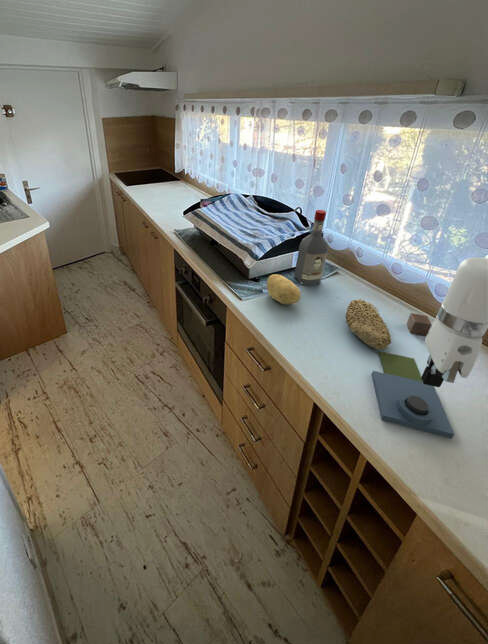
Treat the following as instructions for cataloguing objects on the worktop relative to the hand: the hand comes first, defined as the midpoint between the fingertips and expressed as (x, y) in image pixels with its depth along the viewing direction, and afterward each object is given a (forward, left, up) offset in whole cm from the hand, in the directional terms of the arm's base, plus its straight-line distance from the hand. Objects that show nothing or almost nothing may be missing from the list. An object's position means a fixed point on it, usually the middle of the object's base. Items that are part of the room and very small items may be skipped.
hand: (430, 382), depth 68 cm
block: (-10, -35, -11) cm, 38 cm away
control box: (0, -3, -11) cm, 12 cm away
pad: (-1, -16, -11) cm, 19 cm away
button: (0, 0, -8) cm, 8 cm away
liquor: (+24, -56, -12) cm, 62 cm away
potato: (+33, -38, -12) cm, 52 cm away
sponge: (+6, -29, -12) cm, 32 cm away
